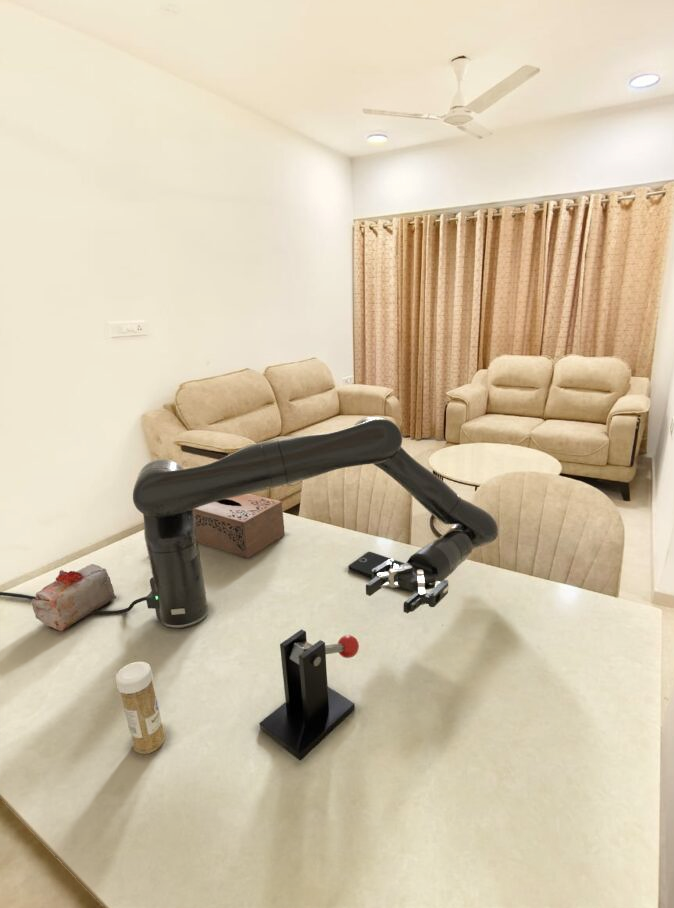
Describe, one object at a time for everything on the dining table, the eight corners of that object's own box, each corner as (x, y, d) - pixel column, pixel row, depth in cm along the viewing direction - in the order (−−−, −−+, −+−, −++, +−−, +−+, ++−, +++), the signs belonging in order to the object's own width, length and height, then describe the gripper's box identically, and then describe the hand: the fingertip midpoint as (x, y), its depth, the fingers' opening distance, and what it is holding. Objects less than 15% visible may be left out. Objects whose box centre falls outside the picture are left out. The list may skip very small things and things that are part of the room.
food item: (60, 637, 98) (47, 594, 94) (34, 626, 101) (21, 585, 97) (120, 600, 109) (110, 561, 106) (95, 591, 112) (85, 553, 109)
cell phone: (368, 554, 127) (368, 550, 126) (431, 575, 117) (431, 572, 117) (347, 569, 120) (347, 566, 119) (412, 593, 110) (412, 589, 110)
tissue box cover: (177, 535, 137) (171, 502, 134) (216, 515, 149) (212, 484, 145) (248, 558, 126) (243, 522, 122) (284, 534, 137) (281, 501, 134)
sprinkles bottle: (169, 745, 74) (153, 674, 69) (136, 760, 72) (117, 688, 67) (162, 725, 78) (147, 655, 73) (130, 738, 76) (112, 668, 71)
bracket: (315, 684, 86) (310, 612, 80) (355, 709, 80) (352, 634, 75) (259, 729, 77) (250, 652, 72) (300, 761, 72) (292, 680, 66)
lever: (343, 651, 85) (349, 631, 85) (359, 660, 83) (365, 639, 83) (284, 660, 74) (291, 637, 74) (301, 671, 72) (308, 647, 72)
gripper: (406, 535, 103) (354, 568, 92) (467, 556, 95) (419, 596, 83) (406, 567, 106) (356, 603, 94) (465, 590, 98) (418, 632, 86)
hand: (385, 599), depth 89 cm, fingers open, 8 cm apart
